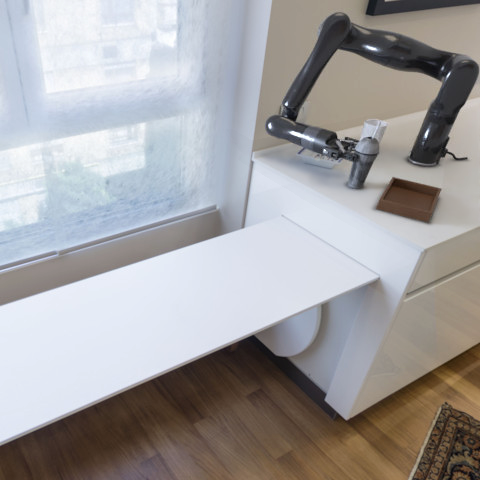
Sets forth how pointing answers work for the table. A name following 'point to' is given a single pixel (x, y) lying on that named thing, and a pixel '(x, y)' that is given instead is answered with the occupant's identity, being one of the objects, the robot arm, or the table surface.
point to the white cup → (373, 129)
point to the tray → (409, 199)
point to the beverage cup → (363, 160)
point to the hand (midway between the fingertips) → (363, 155)
